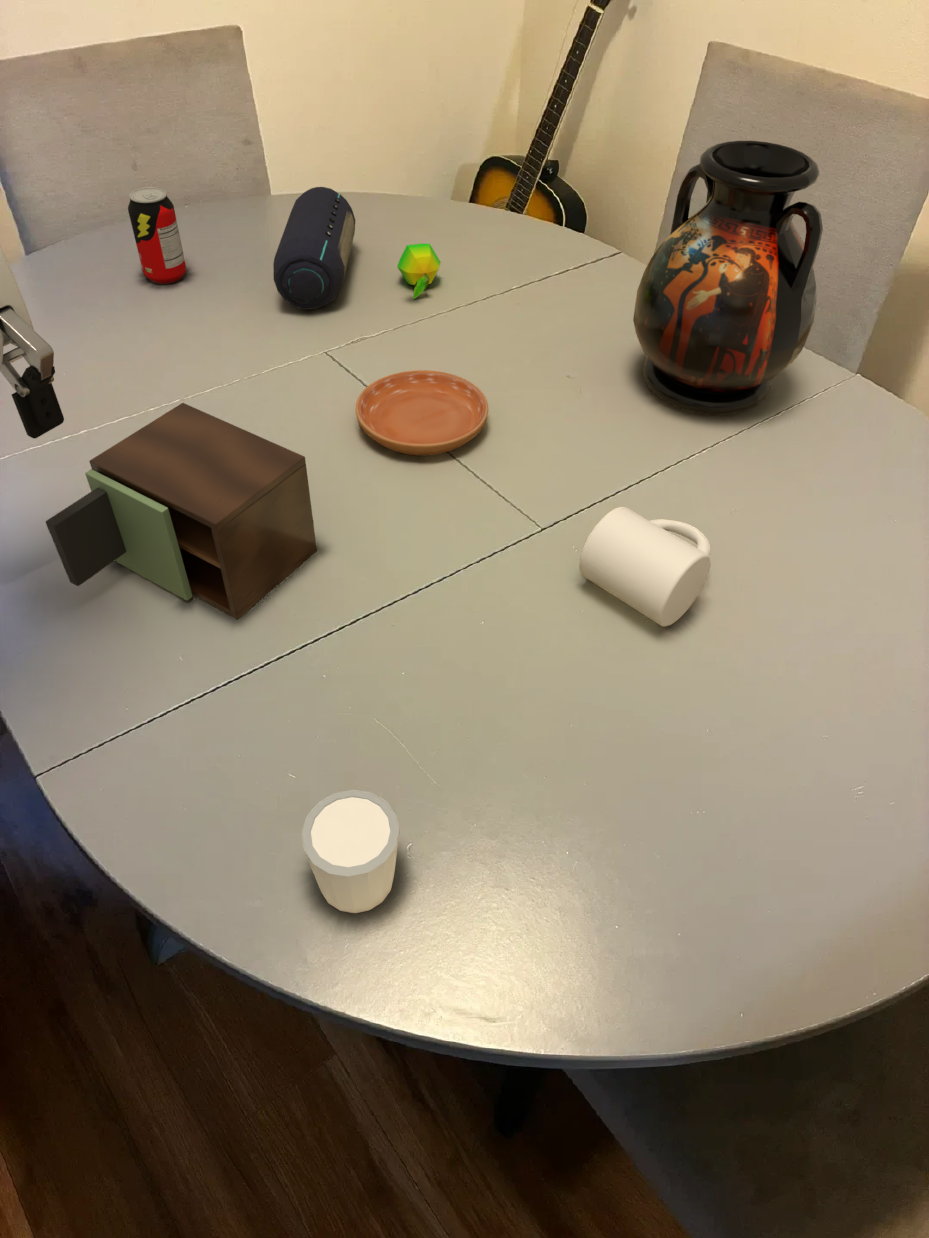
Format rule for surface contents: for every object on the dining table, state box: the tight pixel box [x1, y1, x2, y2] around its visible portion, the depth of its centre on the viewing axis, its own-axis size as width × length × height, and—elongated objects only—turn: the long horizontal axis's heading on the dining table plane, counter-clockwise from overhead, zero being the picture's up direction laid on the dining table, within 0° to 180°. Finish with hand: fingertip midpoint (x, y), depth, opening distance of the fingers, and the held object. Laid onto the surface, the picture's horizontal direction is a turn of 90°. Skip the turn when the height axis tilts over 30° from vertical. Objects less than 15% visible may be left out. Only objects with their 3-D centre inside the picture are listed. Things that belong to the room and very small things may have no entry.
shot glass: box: [301, 789, 400, 914], centre depth 65 cm, size 7×7×7 cm
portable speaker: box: [272, 186, 356, 310], centre depth 131 cm, size 25×10×10 cm, turn 179°
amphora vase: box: [632, 140, 824, 416], centre depth 107 cm, size 22×22×28 cm
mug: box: [578, 506, 712, 627], centre depth 87 cm, size 12×10×8 cm
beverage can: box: [127, 186, 187, 285], centre depth 129 cm, size 6×6×12 cm
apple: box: [396, 243, 441, 301], centre depth 132 cm, size 7×6×9 cm
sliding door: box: [45, 469, 193, 602], centre depth 83 cm, size 7×10×11 cm
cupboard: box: [89, 402, 318, 620], centre depth 87 cm, size 12×16×12 cm
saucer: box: [354, 369, 489, 457], centre depth 108 cm, size 16×16×3 cm
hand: (7, 410), depth 73 cm, fingers open, 9 cm apart
